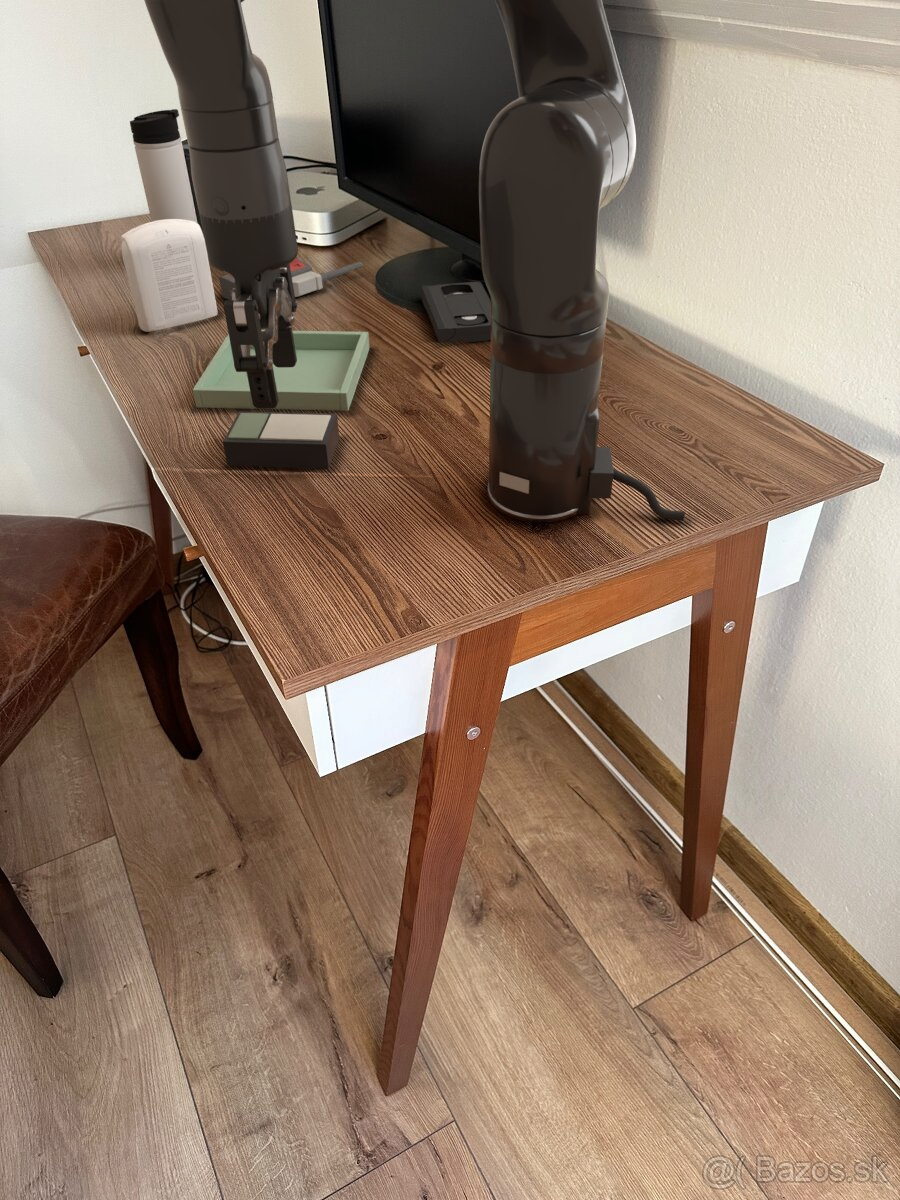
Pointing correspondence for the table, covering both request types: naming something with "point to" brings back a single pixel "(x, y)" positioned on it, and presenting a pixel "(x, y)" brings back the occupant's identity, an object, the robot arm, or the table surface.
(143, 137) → the travel mug
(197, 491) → the table surface
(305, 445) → the black rectangular box
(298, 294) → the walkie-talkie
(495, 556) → the table surface
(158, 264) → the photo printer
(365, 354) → the tray
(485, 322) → the vhs tape
